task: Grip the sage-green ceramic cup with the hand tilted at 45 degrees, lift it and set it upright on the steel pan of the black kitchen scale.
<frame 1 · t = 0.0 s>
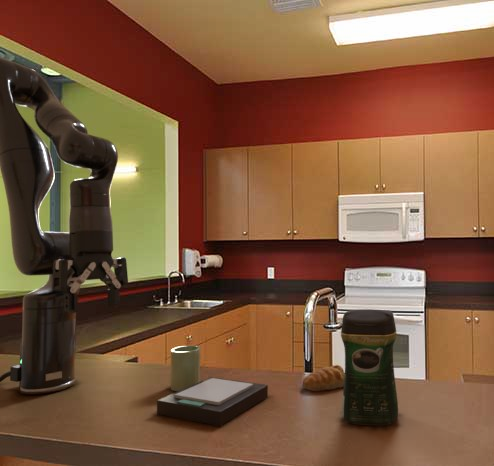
hand: (93, 309, 81), 17 cm above the countertop, tool pointing down, fingers open, 8 cm apart
coffee jar: (369, 419, 69), on the countertop
cup: (185, 386, 86), on the countertop
pastry: (326, 386, 86), on the countertop
scale: (215, 405, 75), on the countertop
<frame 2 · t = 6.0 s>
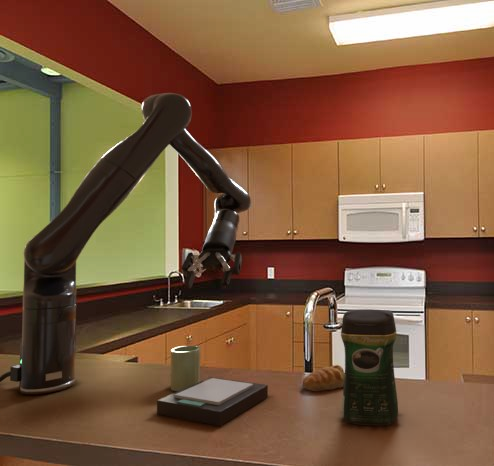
hand: (205, 285, 98), 20 cm above the countertop, tool tilted 45°, fingers open, 8 cm apart
nothing on the countertop moved.
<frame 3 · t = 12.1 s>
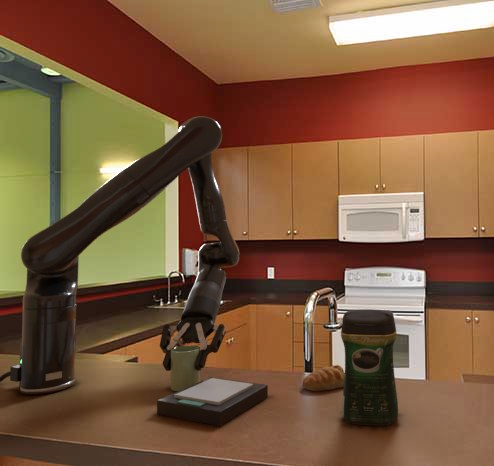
hand: (182, 368, 84), 4 cm above the countertop, tool tilted 45°, fingers closed on cup, 6 cm apart
cup: (185, 386, 86), on the countertop, touching gripper
everything else where it was.
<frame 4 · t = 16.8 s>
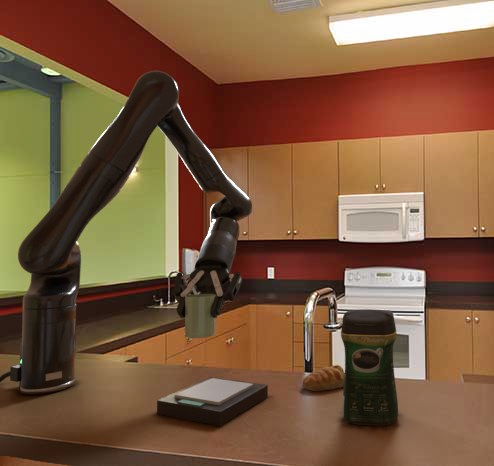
hand: (197, 315, 80), 16 cm above the countertop, tool tilted 45°, fingers closed on cup, 6 cm apart
cup: (200, 335, 81), point 12 cm above the countertop, touching gripper
everything else where it was.
when the fingers open (7 cm above the countertop, at t = 21.9 s): cup stays where it is, resting on scale.
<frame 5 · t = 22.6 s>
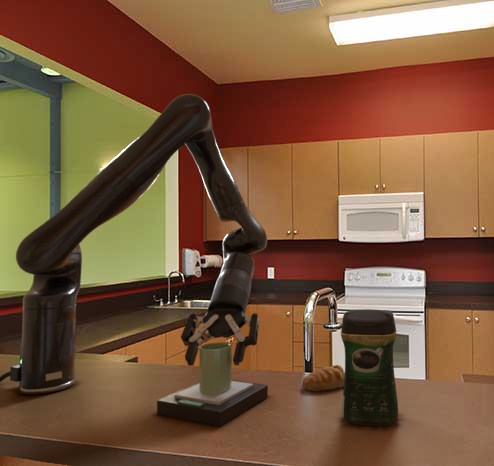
hand: (212, 363, 74), 8 cm above the countertop, tool tilted 45°, fingers open, 8 cm apart
cup: (215, 388, 76), point 3 cm above the countertop, touching scale
everything else where it was.
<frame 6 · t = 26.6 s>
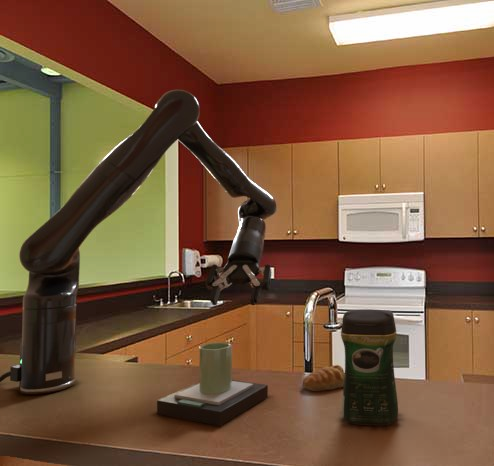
hand: (233, 303, 88), 17 cm above the countertop, tool tilted 45°, fingers open, 8 cm apart
nothing on the countertop moved.
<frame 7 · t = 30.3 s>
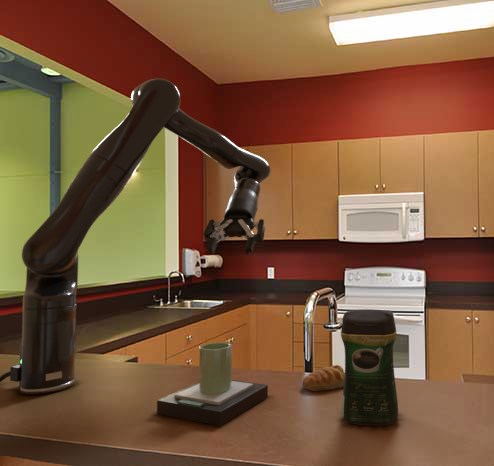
hand: (229, 251, 95), 29 cm above the countertop, tool tilted 45°, fingers open, 8 cm apart
nothing on the countertop moved.
at the end: cup inside the target area on the scale (0.1 cm from its centre), point 3.0 cm above the scale's base; cup tilted 0°; the gripper is holding nothing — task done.
